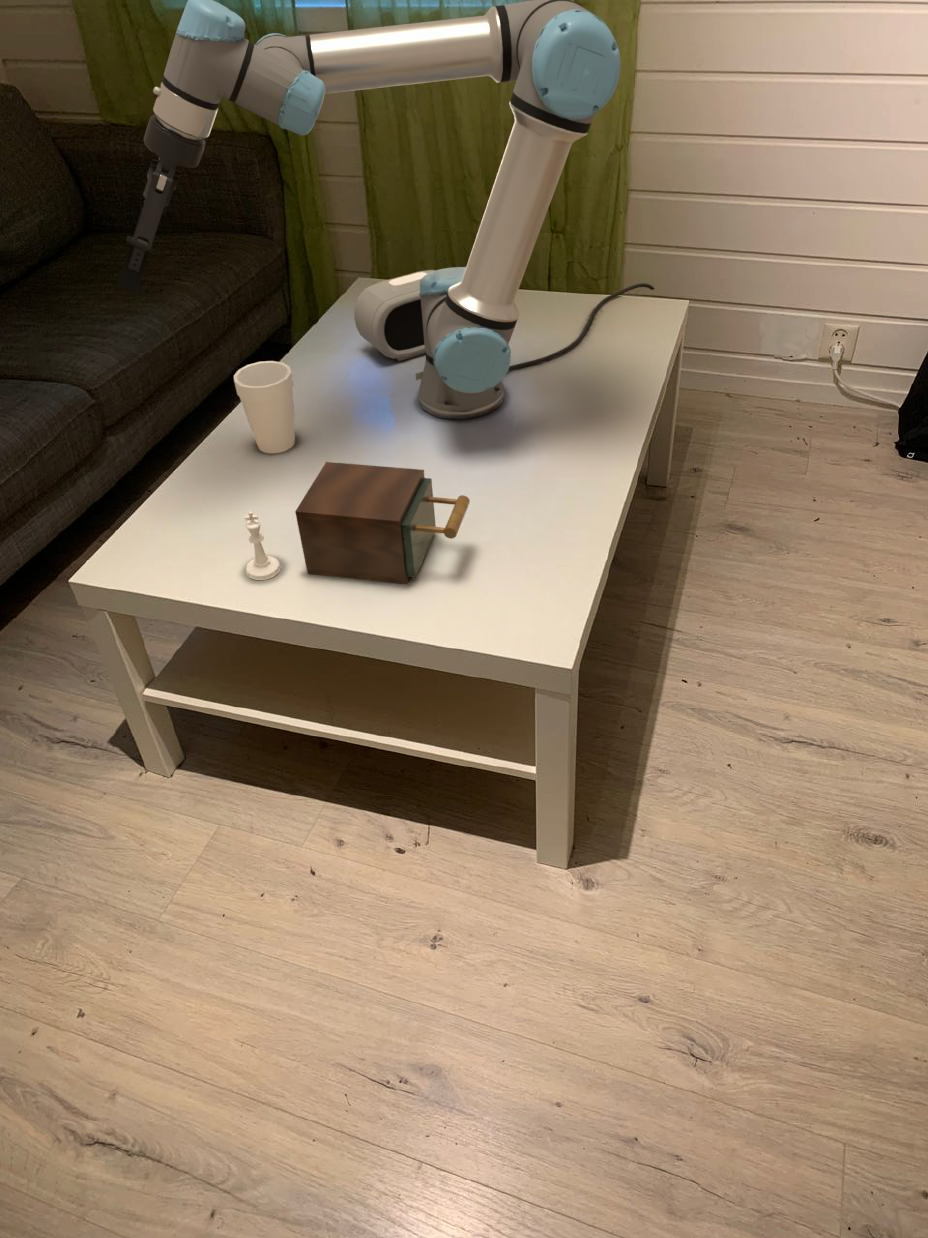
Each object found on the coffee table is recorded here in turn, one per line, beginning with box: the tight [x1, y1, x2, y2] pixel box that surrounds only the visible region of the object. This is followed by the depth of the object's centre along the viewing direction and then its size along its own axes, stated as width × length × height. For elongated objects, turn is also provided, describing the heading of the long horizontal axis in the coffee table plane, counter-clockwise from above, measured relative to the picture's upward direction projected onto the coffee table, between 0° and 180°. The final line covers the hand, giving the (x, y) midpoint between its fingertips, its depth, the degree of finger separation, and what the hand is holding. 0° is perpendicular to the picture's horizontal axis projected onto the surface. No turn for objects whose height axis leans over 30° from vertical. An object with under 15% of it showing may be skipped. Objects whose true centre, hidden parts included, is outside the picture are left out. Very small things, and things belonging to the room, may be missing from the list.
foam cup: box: [233, 360, 296, 455], centre depth 168 cm, size 10×9×13 cm
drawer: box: [401, 477, 471, 578], centre depth 142 cm, size 20×12×9 cm, turn 77°
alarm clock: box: [353, 269, 435, 362], centre depth 193 cm, size 21×10×13 cm, turn 120°
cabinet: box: [294, 461, 426, 585], centre depth 143 cm, size 15×13×11 cm
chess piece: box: [244, 511, 281, 581], centre depth 142 cm, size 5×5×10 cm
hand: (132, 270), depth 144 cm, fingers open, 13 cm apart
